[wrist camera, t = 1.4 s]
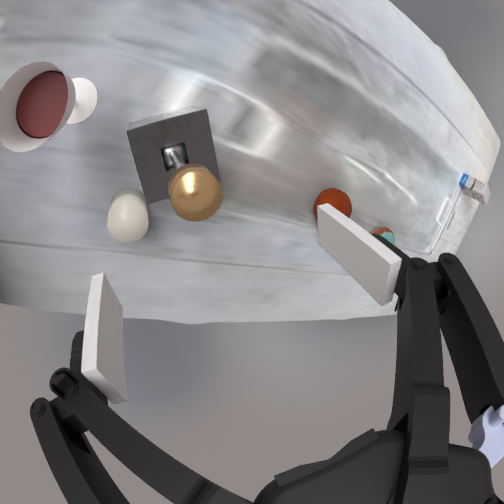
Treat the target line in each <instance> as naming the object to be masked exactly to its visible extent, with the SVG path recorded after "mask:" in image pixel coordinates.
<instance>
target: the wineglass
mask: <svg viewBox="0 0 504 504" xmlns="http://www.w3.org/2000/svg"><path fill="white" fill-rule="evenodd" d="M96 104H97V91H96V87H95V86H94V85H93V83H92V82H91V81H89V80H87V79H85V78H74V79H71V78H70V76H69V75H68V74H67V73H66V72H65V71H64V70H62V69H61V68H60V67H58V66H56V65H54V64H51V63H48V62H35V63H31V64H29V65H26V66H24V67H23V68H21V69H19V70H18V71H17V72H16V73H14V74H13V75H12V76H11V77H10V78H9V80H8V81H7V82H6V83H5V85H4V86H3V88H2V90H1V91H0V143H1V144H2V145H3V146H4V147H6V148H7V149H9V150H11V151H15V152H26V151H30V150H33V149H35V148H37V147H39V146H40V145H42V144H43V143H45V142H46V141H48V140H49V139H50V138H52V137H53V136H54V135H55V134H56V133H57V132H58V131H60V130H61V128H62V127H63V126H64V125H65V124H66V123H67V124H77V123H80V122H82V121H84V120H86V119H87V118H88V117H89V116H90V115H91V114H92V112H93V111H94V109H95V107H96Z"/></svg>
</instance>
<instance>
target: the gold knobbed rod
mask: <svg viewBox="0 0 504 504" xmlns="http://www.w3.org/2000/svg"><path fill="white" fill-rule="evenodd" d="M161 153H162V157H163V161H164V165H165V169H166V170H168V169H171V168H175V171H174V172H173V174H172V175H171V177H170V179H169V182H168V192H169V196H170V199H171V202H172V206H173V208H174V210H175V212H176V213H177V214H178V215H179V216H180V217H181V218H183V219H185V220H188V221H202V220H205V219H207V218H209V217H211V216H212V215H213V214H214V213H215V212H216V211H217V210H218V209H219V207H220V205H221V203H222V199H223V191H222V187H221V185H220V183H219V181H218V180H217V179H216V178H215V177H214V176H213V174H212V173H211V172H210V171H209V170H208V169H207V168H206V167H204V166H202V165H200V164H196V163H190V164H188V163H189V162H188V158H187V153H186V149H185V144H184V142H183V143H180V144H176V145H172V146H169V147H166V148H162V149H161Z"/></svg>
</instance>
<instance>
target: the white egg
mask: <svg viewBox="0 0 504 504" xmlns="http://www.w3.org/2000/svg"><path fill="white" fill-rule="evenodd" d="M107 229H108V231H109V233H110V235H111V236H112V237H113V238H114V239H116V240H117V241H119V242H123V243H132V242H135V241H137V240H139V239H141V238H142V237H143V236H144V235H145V233H146V231H147V229H148V211H147V201H146V198H145V196H144V195H143V193H142V192H141V191H139V190H137V189H135V188H123V189H121V190H119V191H118V192H117V193H116V194H115V195H114V196H113V198H112V200H111V204H110V209H109V213H108V218H107Z"/></svg>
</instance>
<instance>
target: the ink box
mask: <svg viewBox="0 0 504 504" xmlns="http://www.w3.org/2000/svg"><path fill="white" fill-rule="evenodd" d="M460 186H461V188H462V190H463V192H464V193H465V194H466V195H468V196H470V197H472V198H474V199H476V200H477V201H479V202H481V203H483V204H484V205H486V204H487V203H488V200H489V199H490V197H491V195H490V191H489V186H488V185H487V184H485V183H483V182H481V181H479V180H477V179H475V178H473V177H471V176H468V175H466V174H464V175H463V177H462V179H461V181H460Z"/></svg>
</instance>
